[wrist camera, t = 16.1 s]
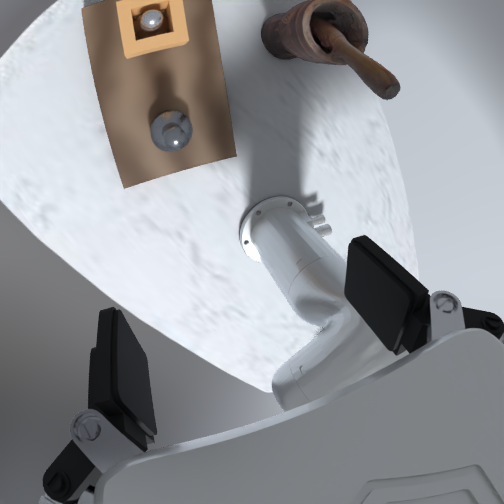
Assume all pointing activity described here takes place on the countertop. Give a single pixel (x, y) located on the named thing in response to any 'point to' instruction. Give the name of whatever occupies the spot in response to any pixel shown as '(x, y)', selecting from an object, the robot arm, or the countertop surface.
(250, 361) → the countertop surface
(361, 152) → the countertop surface
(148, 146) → the board
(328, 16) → the mortar and pestle
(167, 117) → the shiny metal knob
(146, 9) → the collar
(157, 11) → the silver round flared piece
